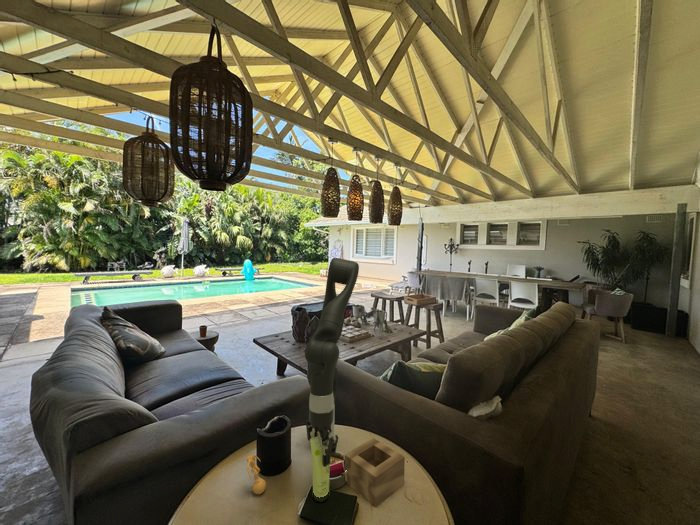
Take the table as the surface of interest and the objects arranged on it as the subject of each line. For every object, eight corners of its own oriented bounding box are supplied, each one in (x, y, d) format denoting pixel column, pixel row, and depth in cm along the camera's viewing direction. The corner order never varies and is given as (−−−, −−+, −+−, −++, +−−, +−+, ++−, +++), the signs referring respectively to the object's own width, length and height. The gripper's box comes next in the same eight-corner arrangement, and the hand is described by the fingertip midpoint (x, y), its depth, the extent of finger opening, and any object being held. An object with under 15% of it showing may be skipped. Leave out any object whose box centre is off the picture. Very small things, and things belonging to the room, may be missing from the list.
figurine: (260, 503, 89) (261, 463, 89) (241, 502, 90) (241, 462, 90) (269, 483, 98) (270, 446, 98) (251, 482, 98) (252, 445, 98)
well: (344, 481, 99) (344, 454, 99) (373, 462, 108) (373, 438, 108) (375, 507, 88) (375, 477, 88) (404, 484, 98) (404, 456, 98)
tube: (324, 506, 88) (325, 441, 88) (309, 502, 90) (309, 438, 90) (331, 492, 94) (332, 431, 94) (316, 489, 95) (317, 428, 95)
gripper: (298, 401, 95) (297, 454, 95) (326, 419, 84) (325, 479, 84) (317, 394, 100) (316, 445, 100) (345, 410, 89) (345, 467, 89)
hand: (320, 460), depth 92 cm, fingers open, 5 cm apart
